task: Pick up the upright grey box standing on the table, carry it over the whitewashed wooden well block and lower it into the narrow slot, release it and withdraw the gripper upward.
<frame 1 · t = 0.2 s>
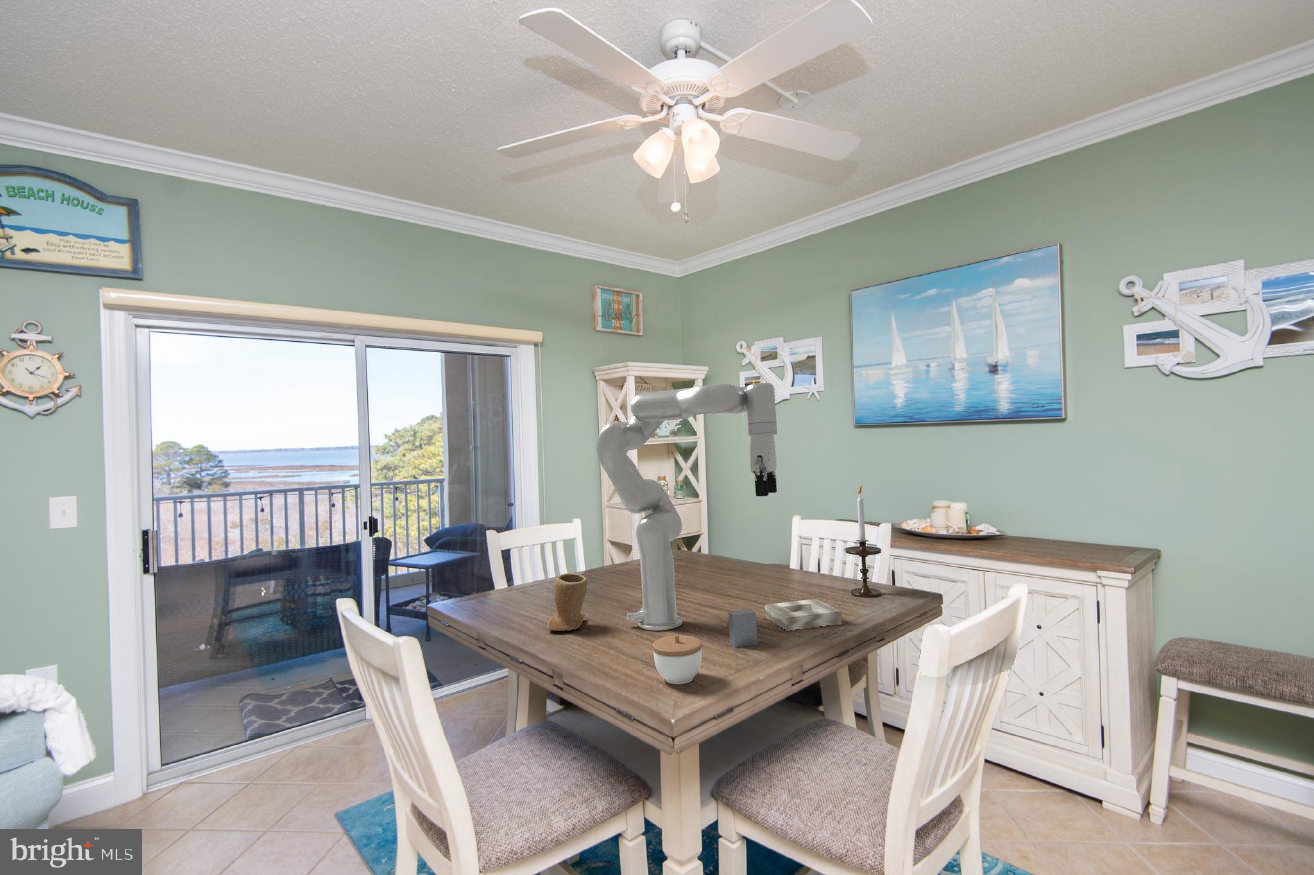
hand: (766, 494, 156), 36 cm above the table, tool pointing down, fingers open, 9 cm apart
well: (802, 620, 164), on the table
lidded jar: (679, 679, 128), on the table
upright grey box: (743, 643, 148), on the table
candlestick: (865, 594, 189), on the table
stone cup: (569, 626, 171), on the table
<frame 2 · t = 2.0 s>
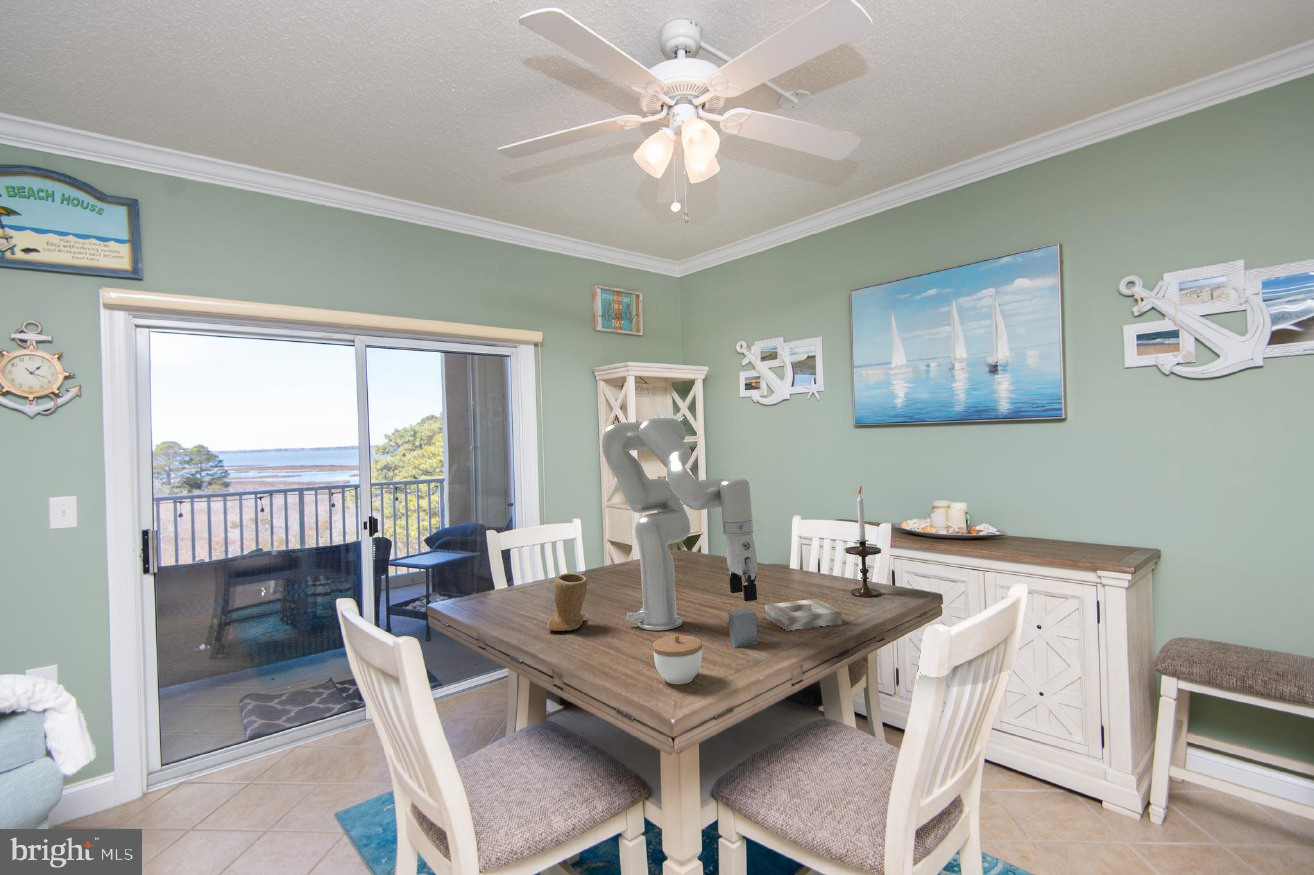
hand: (743, 596, 148), 12 cm above the table, tool pointing down, fingers open, 9 cm apart
nothing on the table moved.
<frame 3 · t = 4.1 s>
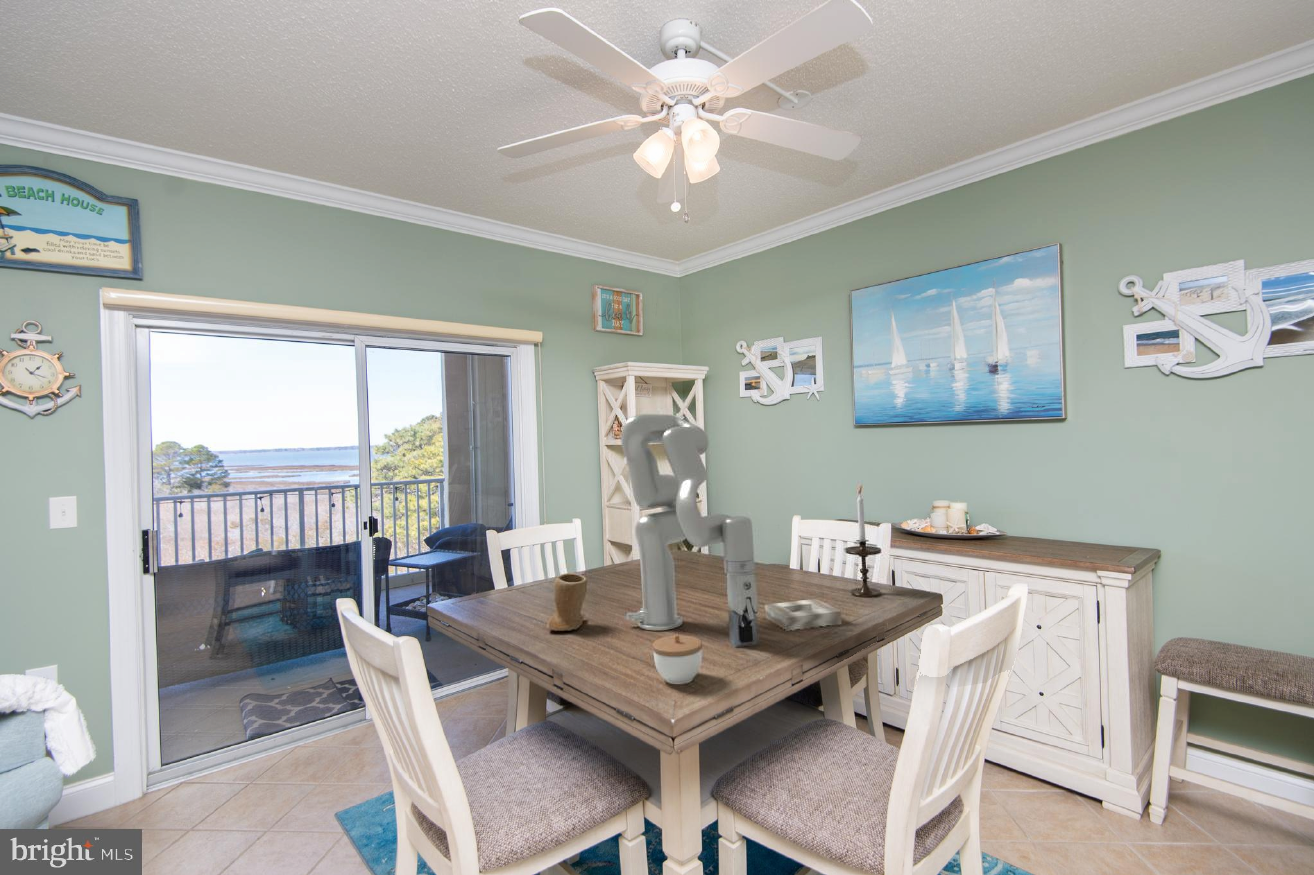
hand: (743, 638, 148), 1 cm above the table, tool pointing down, fingers closed on upright grey box, 3 cm apart
upright grey box: (743, 643, 148), on the table, touching gripper
everything else where it was.
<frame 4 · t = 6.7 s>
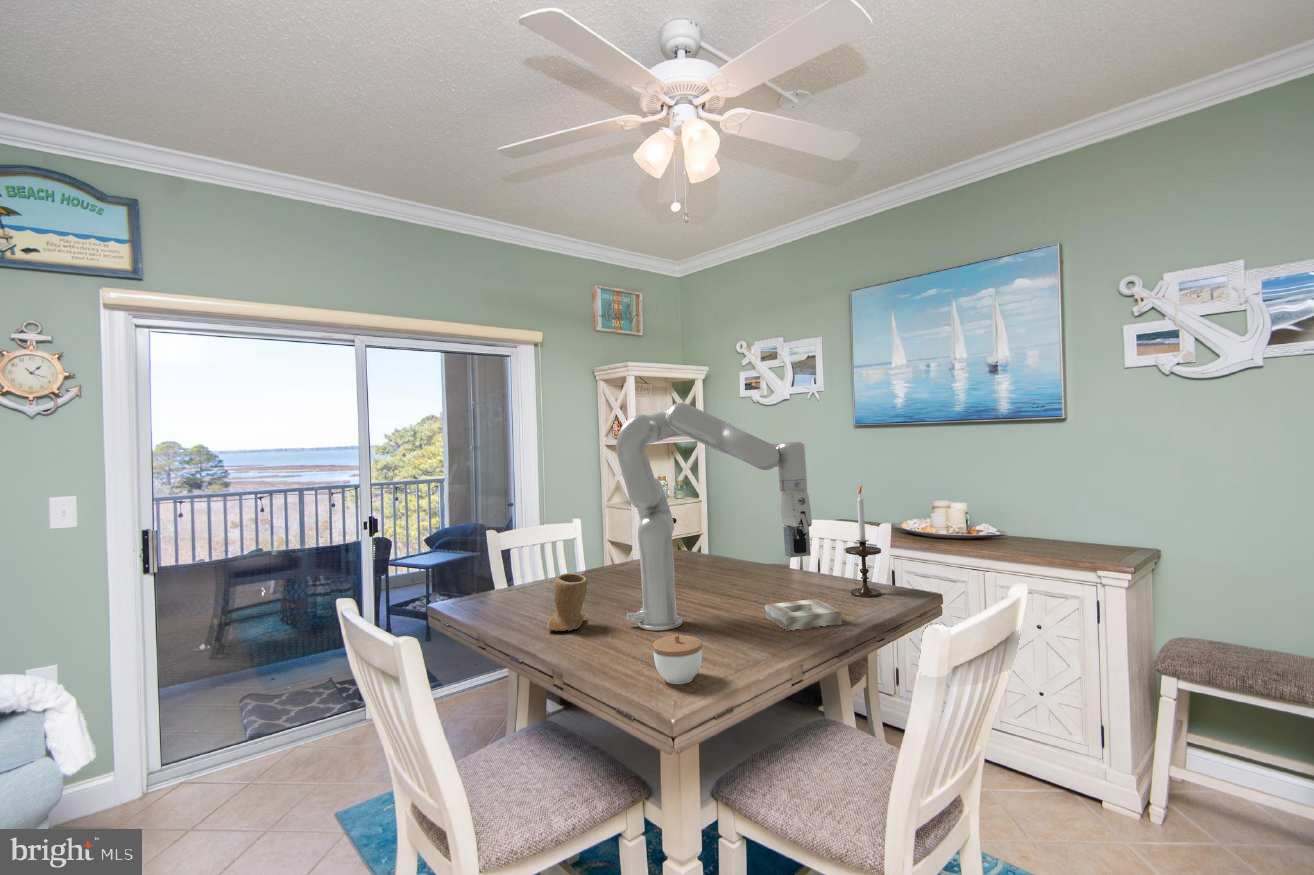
hand: (797, 551, 164), 19 cm above the table, tool pointing down, fingers closed on upright grey box, 3 cm apart
upright grey box: (797, 555, 164), point 18 cm above the table, touching gripper
everything else where it was.
when the fingers open (4 cm above the table, at t = 9.6 s): upright grey box drops 3 cm, resting in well.
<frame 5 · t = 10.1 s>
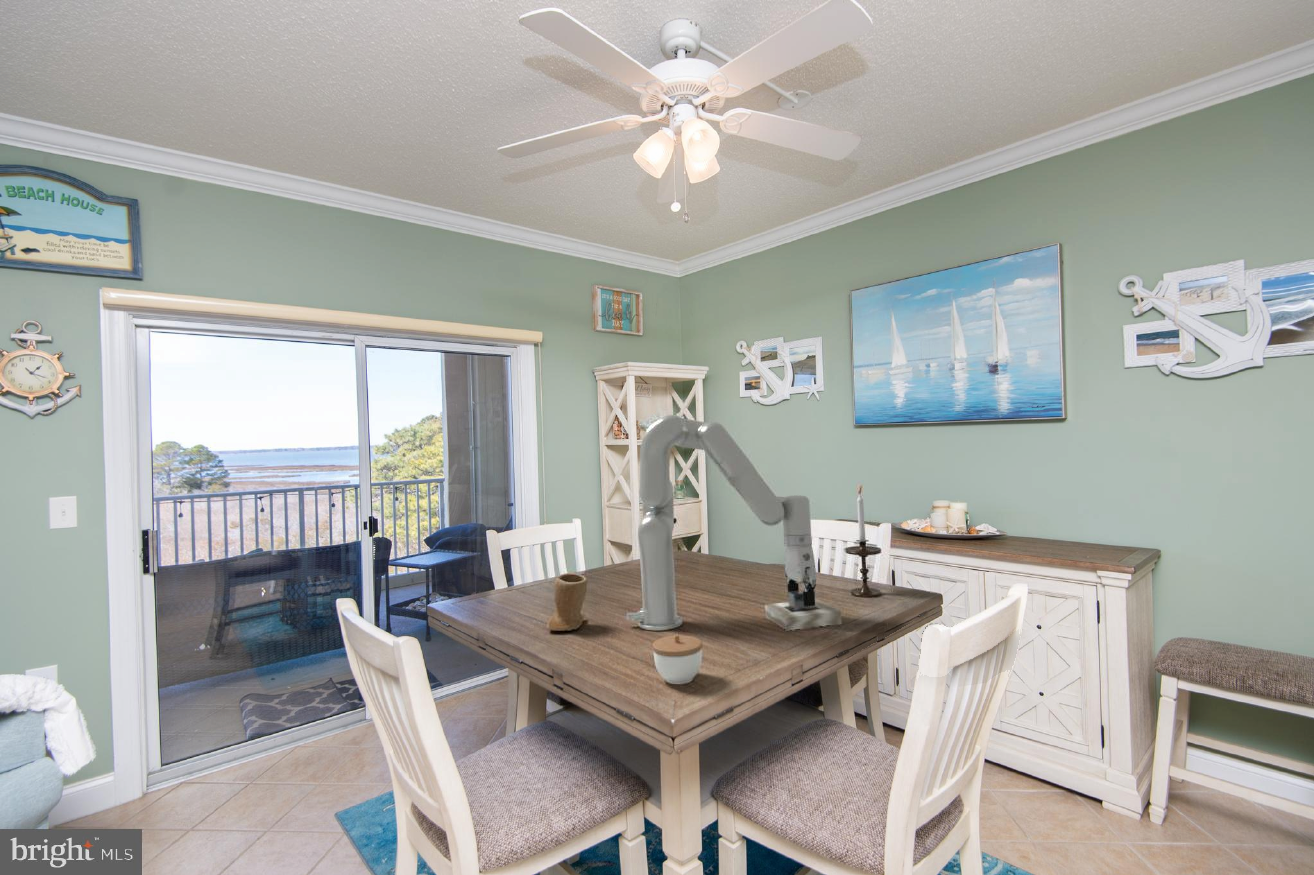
hand: (801, 601, 164), 5 cm above the table, tool pointing down, fingers open, 9 cm apart
upright grey box: (802, 620, 164), resting in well
everything else where it was.
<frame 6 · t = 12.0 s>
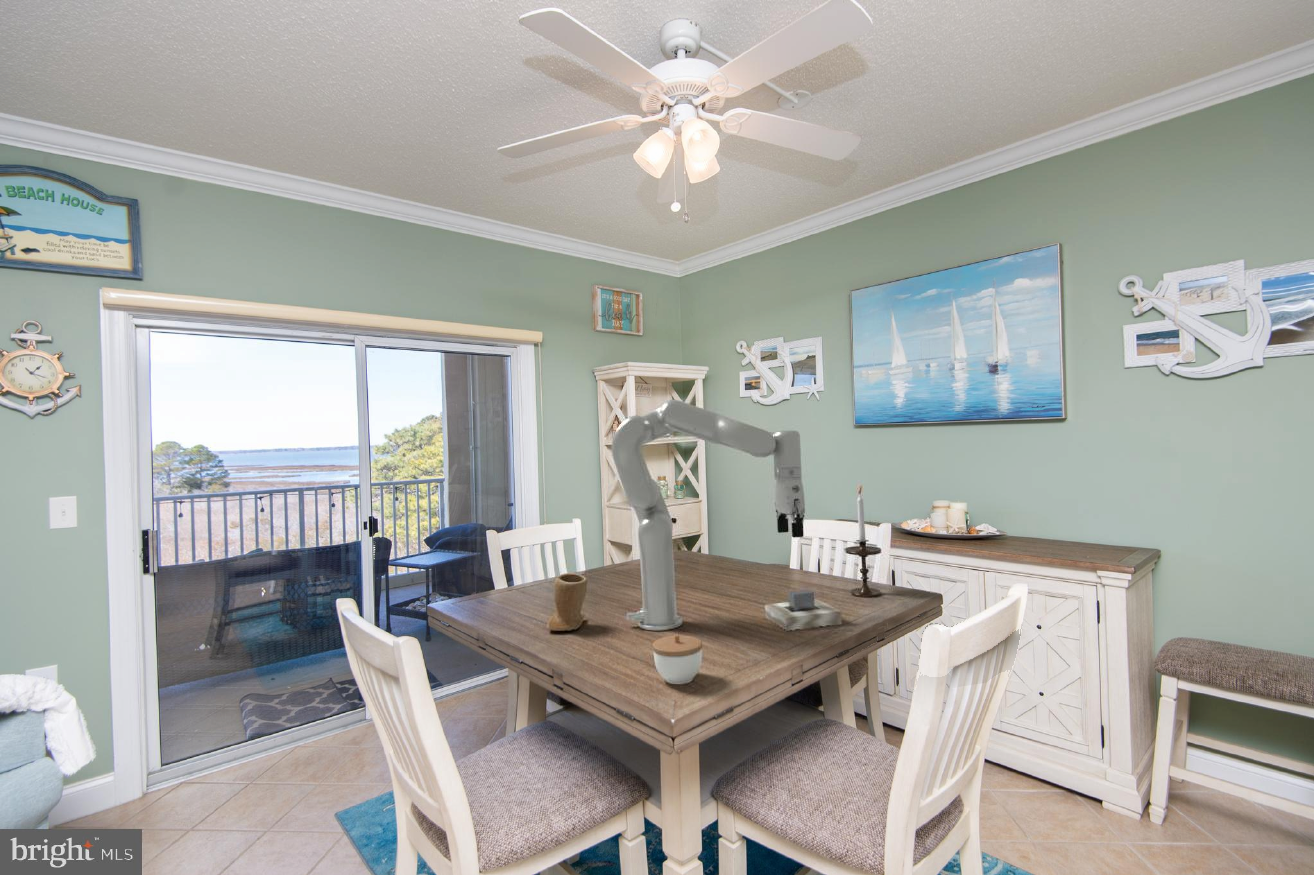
hand: (790, 534, 166), 24 cm above the table, tool pointing down, fingers open, 9 cm apart
nothing on the table moved.
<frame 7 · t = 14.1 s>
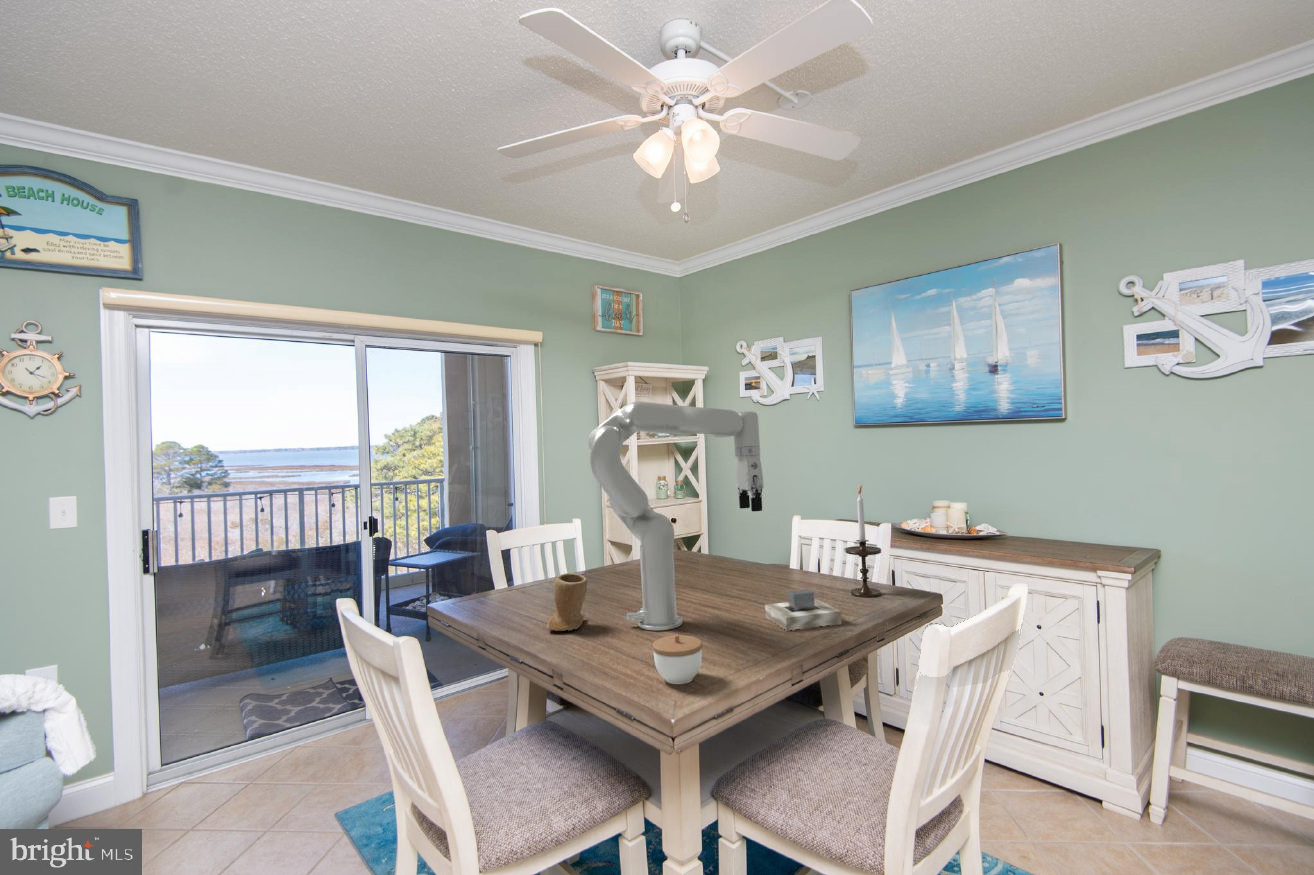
hand: (750, 509, 177), 30 cm above the table, tool pointing down, fingers open, 9 cm apart
nothing on the table moved.
at the end: upright grey box inside the target area on the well (0.2 cm from its centre), point 0.0 cm above the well's base; the gripper is holding nothing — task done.
